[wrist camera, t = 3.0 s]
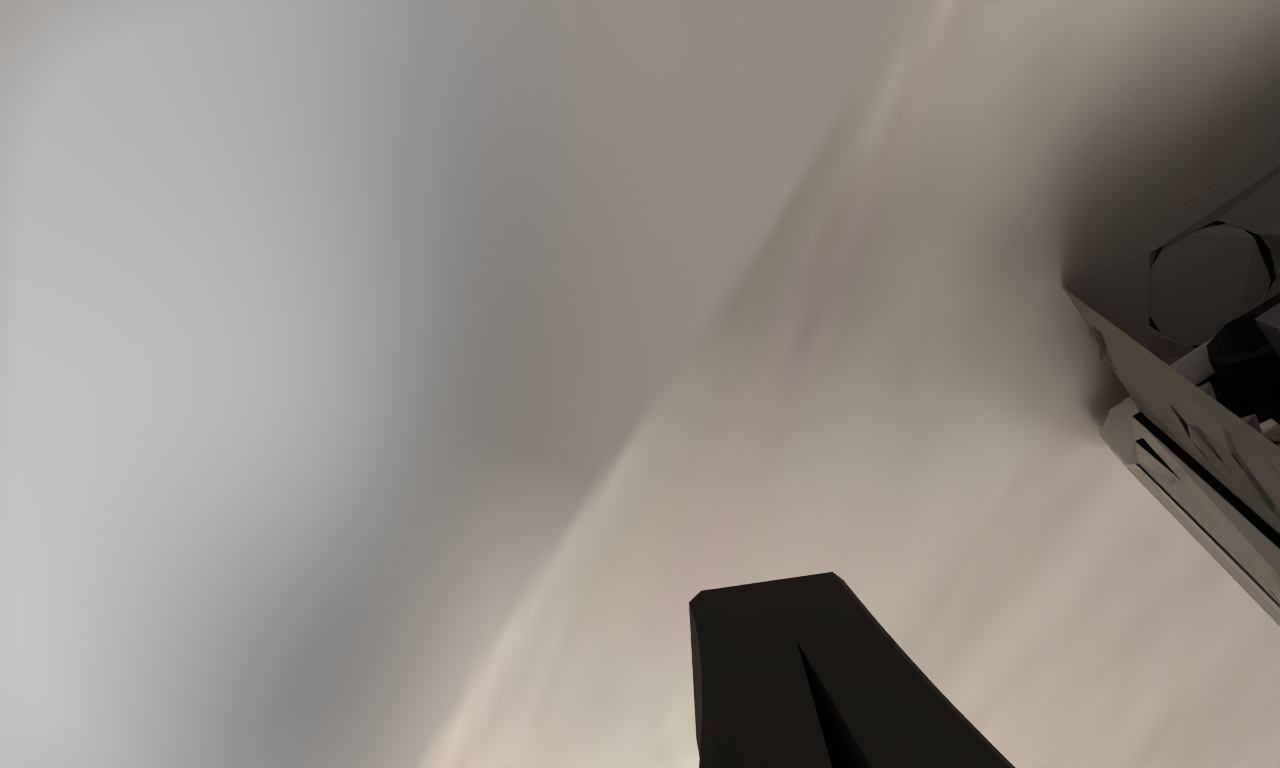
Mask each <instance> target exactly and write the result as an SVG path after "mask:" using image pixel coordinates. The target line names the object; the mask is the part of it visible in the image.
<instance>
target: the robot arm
mask: <svg viewBox="0 0 1280 768" xmlns="http://www.w3.org/2000/svg"><path fill="white" fill-rule="evenodd" d="M689 609H690V628H691V647H692V665H693V684H694V702H695V721H696V739H697V744H698V750H699V756H700V763H699V768H1015V767H1014V766H1013V765H1012V764H1011V763H1010V762H1009V761H1008V760H1007V759H1006V758H1005V757H1004V756H1003V755H1002V754H1001V753H1000V752H999V751H998V750H997V749H996V748H995V747H994V746H993V745H992V744H991V743H990V742H989V741H988V740H987V739H986V738H985V737H984V736H983V735H982V734H981V733H980V732H979V731H978V730H977V729H976V728H975V727H974V726H973V725H972V724H971V723H970V722H969V721H968V720H967V719H966V718H965V717H964V715H963V714H962V713H961V712H960V711H959V710H958V709H957V708H956V707H955V706H954V705H953V704H952V703H951V702H950V701H949V700H948V699H947V698H946V697H945V696H944V695H943V694H942V693H941V692H940V690H939V689H938V688H937V687H936V686H935V685H934V684H933V683H932V682H931V681H930V680H929V679H928V678H927V676H926V675H925V674H924V673H923V672H922V671H921V670H920V669H919V668H918V667H917V665H916V664H915V663H914V662H913V661H912V660H911V659H910V658H909V657H908V655H907V654H906V653H905V652H904V651H903V650H902V649H901V648H900V647H899V645H898V644H897V643H896V642H895V641H894V640H893V639H892V637H891V636H890V635H889V634H888V633H887V632H886V631H885V629H884V628H883V627H882V626H881V625H880V624H879V622H878V621H877V620H876V619H875V618H874V617H873V615H872V614H871V613H870V612H869V611H868V609H867V608H866V607H865V606H864V605H863V603H862V602H861V601H860V600H859V599H858V597H857V596H856V595H855V594H854V593H853V591H852V590H851V589H850V588H849V586H848V585H847V584H846V583H845V581H844V580H842V579H841V578H840V577H838V576H837V575H836V574H834V573H833V572H829V573H822V574H815V575H808V576H801V577H794V578H787V579H780V580H773V581H766V582H759V583H752V584H746V585H739V586H732V587H725V588H718V589H711V590H704V591H701V592H699V593H698V594H697V595H696V596H695V597H694V598H693V599H692V600H691V601H690V602H689Z"/></svg>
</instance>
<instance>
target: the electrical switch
mask: <svg viewBox="0 0 1280 768" xmlns="http://www.w3.org/2000/svg"><path fill="white" fill-rule="evenodd" d="M1216 220H1218V221H1221V222H1224V223H1227V224H1222V225H1217V226H1212V227H1206V228H1202V227H1204V226H1206V225H1208V224H1210V223H1212V222H1214V221H1216ZM1200 228H1201V229H1200ZM1243 229H1244V230H1247V231H1250V232H1253V233H1256V234H1259V235H1260V237H1261V238H1262V239H1263V241H1264V242H1265V243H1266V245H1267V246H1268V247H1269V249H1270V250H1271V255H1272V260H1273V266H1274V271H1275V276H1276V279H1275V281H1274V282H1273V284H1272V285H1271V287H1270V288H1269V285H1270V282H1271V278H1270V276H1269V273H1268V271H1267V268H1266V266H1265V263H1264V261H1263V258H1262V255H1261V253H1260V250H1259V248H1258V245H1257V243H1256V240H1255V238H1254V237H1253V236H1251V235H1250V234H1249V233H1247V232H1246V231H1244V230H1243ZM1163 246H1164V247H1163ZM1161 247H1163V249H1162V250H1161V252H1160V254H1159V255H1158V257H1157V259H1156V261H1155V262H1154V264H1153V261H1154V258H1155V255H1156V251H1157V249H1159V248H1161ZM1152 264H1153V266H1152ZM1063 289H1064V288H1063ZM1268 289H1269V290H1268ZM1064 290H1065V292H1066V293H1067V295H1068V296H1069V297H1070V299H1071V300H1072V302H1073V303H1074V304H1075V306H1076V307H1077V309H1078V310H1079V311H1080V313H1081V314H1082V316H1083V317H1084V318H1085V320H1086V321H1087V323H1088V324H1089V325H1090V327H1091V328H1092V330H1093V331H1094V333H1095V334H1096V335H1097V337H1098V338H1099V340H1100V360H1102V361H1103V362H1104V363H1106V364H1107V365H1108V366H1109V367H1111V368H1112V370H1113V371H1114V373H1115V374H1116V376H1117V377H1118V378H1119V380H1120V381H1121V383H1122V384H1123V386H1124V387H1125V388H1126V390H1127V392H1128V393H1129V395H1130V397H1128V398H1127V399H1125V400H1123V401H1122V402H1120V403H1119V404H1117V405H1116V406H1114V407H1113V408H1111V409H1110V411H1109V413H1108V416H1107V418H1106V420H1105V423H1104V425H1103V428H1102V430H1101V433H1100V436H1101V437H1102V438H1103V440H1104V441H1105V442H1106V444H1107V445H1108V446H1109V447H1110V449H1111V450H1112V451H1113V452H1114V453H1115V454H1116V456H1117V457H1118V458H1119V459H1120V460H1121V462H1122V463H1123V464H1124V465H1125V466H1126V467H1127V469H1128V470H1129V471H1130V472H1131V473H1132V474H1133V475H1134V476H1135V477H1136V478H1137V479H1138V480H1139V481H1140V482H1141V483H1142V484H1143V485H1144V486H1145V487H1146V488H1147V489H1148V490H1149V491H1150V492H1151V494H1152V495H1153V496H1154V497H1155V498H1156V499H1157V500H1158V501H1159V502H1160V503H1161V504H1162V505H1163V506H1164V507H1165V508H1166V509H1167V510H1168V511H1169V512H1170V513H1171V514H1172V515H1173V516H1174V517H1175V518H1176V519H1177V520H1178V521H1179V522H1180V523H1181V525H1182V526H1183V527H1184V528H1185V529H1186V530H1187V531H1188V532H1189V533H1190V534H1191V535H1192V536H1193V537H1194V538H1195V539H1196V540H1197V541H1198V542H1199V543H1200V544H1201V545H1202V546H1203V547H1204V548H1205V549H1206V550H1207V551H1208V552H1209V553H1210V555H1211V556H1212V557H1213V558H1214V559H1215V560H1216V561H1217V562H1218V563H1219V564H1220V565H1221V566H1222V567H1223V568H1224V569H1225V570H1226V571H1227V572H1228V573H1229V574H1230V575H1231V576H1232V577H1233V578H1234V579H1235V580H1236V581H1237V582H1238V583H1239V584H1240V586H1241V587H1242V588H1243V589H1244V590H1245V591H1246V592H1247V593H1248V594H1249V595H1250V596H1251V597H1252V598H1253V599H1254V600H1255V601H1256V602H1257V603H1258V604H1259V605H1260V606H1261V607H1262V608H1263V609H1264V610H1265V611H1266V612H1267V613H1268V614H1269V615H1270V617H1271V618H1272V619H1273V620H1274V621H1275V622H1276V623H1277V624H1278V625H1279V626H1280V141H1278V142H1277V143H1275V144H1274V145H1272V146H1271V147H1270V148H1268V149H1267V150H1265V151H1264V152H1262V153H1261V154H1259V155H1258V156H1256V157H1255V158H1253V159H1252V160H1250V161H1249V162H1247V163H1246V164H1245V165H1243V166H1242V167H1240V168H1239V169H1237V170H1236V171H1234V172H1233V173H1231V174H1230V175H1228V176H1227V177H1225V178H1224V179H1223V180H1221V181H1220V182H1218V183H1217V184H1215V185H1214V186H1212V187H1211V188H1209V189H1208V190H1206V191H1205V192H1203V193H1202V194H1201V195H1199V196H1198V197H1196V198H1195V199H1193V200H1192V201H1190V202H1189V203H1187V204H1186V205H1184V206H1183V207H1181V208H1180V209H1178V210H1177V211H1176V212H1174V213H1173V214H1171V215H1170V216H1168V217H1167V218H1165V219H1164V220H1162V221H1161V222H1159V223H1158V224H1156V225H1155V226H1154V227H1152V228H1151V229H1149V230H1148V231H1146V232H1145V233H1143V234H1142V235H1140V236H1139V237H1137V238H1136V239H1134V240H1133V241H1132V242H1130V243H1129V244H1127V245H1126V246H1124V247H1123V248H1121V249H1120V250H1118V251H1117V252H1115V253H1114V254H1112V255H1111V256H1109V257H1108V258H1107V259H1105V260H1104V261H1102V262H1101V263H1099V264H1098V265H1096V266H1095V267H1093V268H1092V269H1090V270H1089V271H1087V272H1086V273H1085V274H1083V275H1082V276H1080V277H1079V278H1077V279H1076V280H1075V281H1073V282H1072V283H1071V284H1070V285H1069V286H1068V287H1067V290H1068V291H1069V292H1068V291H1067V290H1066V289H1064ZM1149 316H1150V318H1151V319H1152V321H1153V322H1154V323H1155V325H1156V326H1157V328H1158V329H1159V331H1158V330H1156V329H1154V328H1152V327H1150V326H1149ZM1195 345H1201V346H1199V347H1198V348H1196V349H1195V348H1193V347H1191V346H1195Z"/></svg>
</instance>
